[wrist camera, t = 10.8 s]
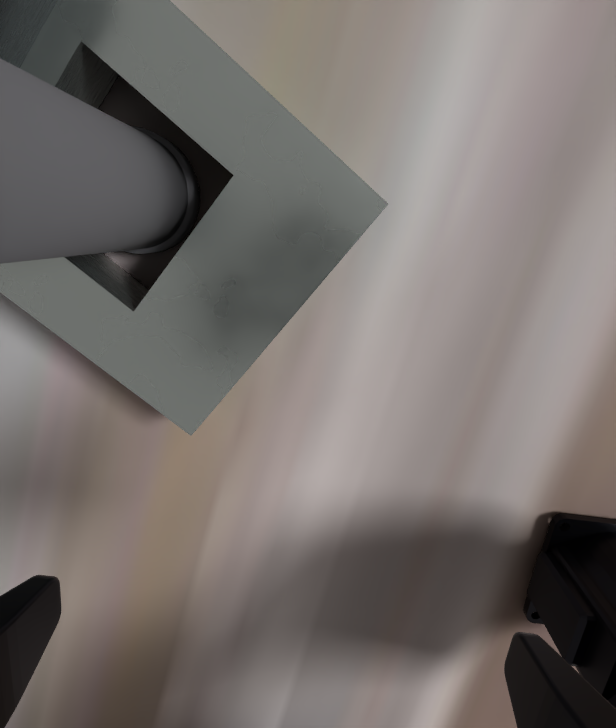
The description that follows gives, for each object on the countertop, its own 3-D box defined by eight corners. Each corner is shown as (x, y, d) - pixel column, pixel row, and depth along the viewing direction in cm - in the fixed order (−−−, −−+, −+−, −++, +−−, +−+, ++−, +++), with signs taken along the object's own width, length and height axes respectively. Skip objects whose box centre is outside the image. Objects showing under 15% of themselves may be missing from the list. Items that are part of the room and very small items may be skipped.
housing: (379, 207, 19) (402, 198, 13) (209, 408, 22) (166, 473, 16) (53, -94, 16) (-96, -269, 11) (-90, 179, 19) (-267, 158, 13)
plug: (175, 114, 18) (-159, -137, 6) (215, 233, 19) (16, 241, 7) (68, 153, 19) (-447, 1, 6) (115, 266, 20) (-237, 327, 8)
